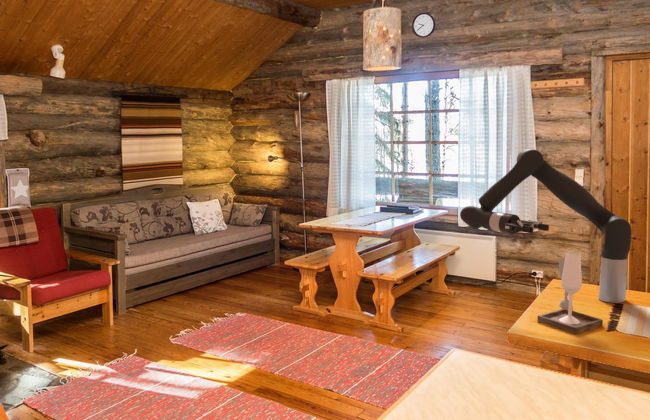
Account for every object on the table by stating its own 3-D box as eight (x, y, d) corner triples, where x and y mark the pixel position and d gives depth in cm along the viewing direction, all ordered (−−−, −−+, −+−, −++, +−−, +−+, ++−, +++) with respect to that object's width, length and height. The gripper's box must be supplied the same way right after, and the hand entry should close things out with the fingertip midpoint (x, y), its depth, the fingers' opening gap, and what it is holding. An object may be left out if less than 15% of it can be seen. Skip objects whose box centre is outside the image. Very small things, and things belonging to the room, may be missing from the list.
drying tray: (564, 314, 210) (564, 308, 210) (602, 325, 198) (602, 319, 197) (537, 321, 202) (537, 315, 202) (575, 334, 190) (575, 328, 189)
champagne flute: (581, 325, 196) (585, 256, 192) (559, 323, 198) (563, 255, 194) (578, 318, 202) (582, 252, 199) (558, 316, 204) (561, 251, 201)
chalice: (578, 309, 216) (581, 262, 213) (560, 309, 216) (562, 262, 213) (570, 303, 223) (572, 258, 220) (552, 303, 223) (555, 258, 220)
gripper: (492, 214, 214) (527, 220, 200) (517, 211, 221) (553, 217, 208) (491, 234, 215) (527, 241, 201) (516, 230, 222) (552, 237, 209)
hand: (540, 229), depth 204 cm, fingers open, 8 cm apart
